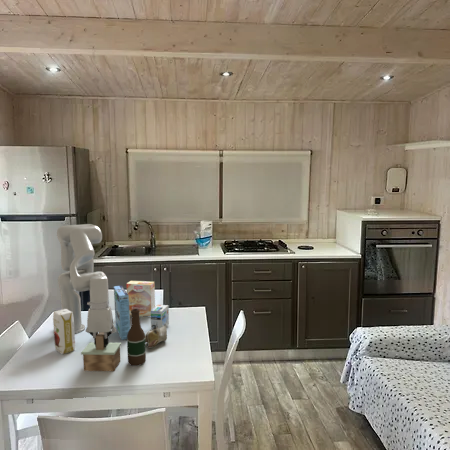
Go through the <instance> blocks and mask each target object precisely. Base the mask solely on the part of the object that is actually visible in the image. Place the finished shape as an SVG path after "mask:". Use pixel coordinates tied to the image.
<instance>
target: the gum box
mask: <svg viewBox="0 0 450 450" xmlns="http://www.w3.org/2000/svg"><path fill="white" fill-rule="evenodd" d="M113 295H114V296H113V298H114V299H113V300H114V301H113V302H114V316H115V318H114V319H115V328H116V332H117V334H118V336H119V338H120V340H121V341H122V340H123V341H124V340H127V334H128V332H129V330H130V328H131V318H130V317H131V316H130V314H129V295H128V294H127V290H126V289H125V288H124V287H123V285H115V286H113Z"/></svg>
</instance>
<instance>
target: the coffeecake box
mask: <svg viewBox="0 0 450 450" xmlns="http://www.w3.org/2000/svg"><path fill="white" fill-rule="evenodd" d="M125 285H126V292H127V294H128V295H129V314H130V315H132V313H131V310H133V309H139V311H140V312H139V317H143V316H151V310H152V309H153V308H154V307H155V306H156V298H155V297H156V295H155V294H156V293H155V290H156V288H155V281H145V280H130V281H128V282H126V283H125Z"/></svg>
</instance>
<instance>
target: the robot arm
mask: <svg viewBox="0 0 450 450" xmlns="http://www.w3.org/2000/svg"><path fill="white" fill-rule="evenodd" d="M56 236H57V239H58V241H59V244H60V263H61V268H62V269H61V270H63V271H64V272H63V273H60V275H58V278H57V283H58V287H59V293H60V305H61V310H63V309H68V310H69V311H71V312H73V317H74V335H75V334H79V333H82V332H83V331H84V330H85V332H86V333H88V334H89V335H91V337H92V338H93V341H94V344H95V347H96V335H97V334H98V333H99V332H104V336H105V337H104V347H106V346H107V345H108V344H109V343H110V342H109V337H110V336H111V335H112V334H114V333H116V332H117V329H116V325H114V318H113V312H112V308H111V306H110V299H109V298H110V296H109V278H108V277H107V275H106V274H105V273H104V272H103V271H94V268H95V267H94V264H95V263H94V257H95V254H96V253H95V249H94V247H93V244H100V243H101V242H102V240H103V233H102V230H101V229H100V227H99V226H97V225H95V224H92V223H85V224H71V225H70V224H69V225H61V226H59V227H58V228H57V229H56ZM86 291H89V301H87V304H86V305H87V306H89V308H88V310H87V311H88V312H87V319H86V323H87V325H86V327H85V325H84V324H83V323H82V305H81V304H82V303H81V296H80V294H79V293H80V292H86ZM78 292H79V293H78ZM85 328H86V329H85Z"/></svg>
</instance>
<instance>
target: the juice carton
mask: <svg viewBox="0 0 450 450" xmlns="http://www.w3.org/2000/svg"><path fill="white" fill-rule="evenodd" d="M52 317H53V318H52V321H53V322H52V325H53V338H54V347H55V350H56V352H58V353H59V354H61V355H65V354H68V353H71V352H74V351H75V349H76V341H75V339H76V337H75V334H74V317H73V312H71V311H69V310H68V309H63V310H62V309H59V310H55V311H53V316H52Z"/></svg>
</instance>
